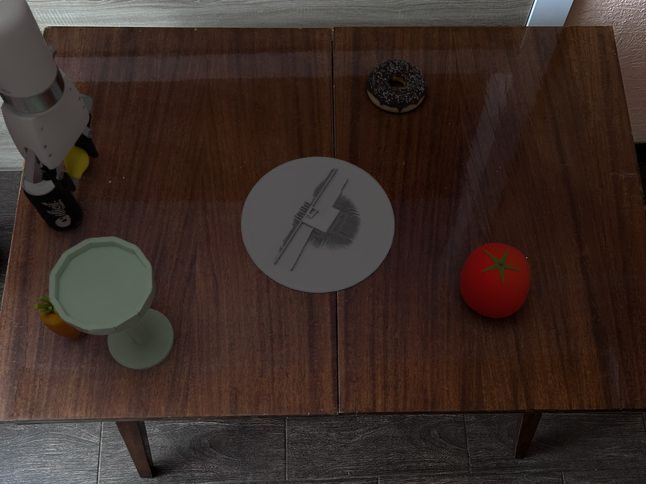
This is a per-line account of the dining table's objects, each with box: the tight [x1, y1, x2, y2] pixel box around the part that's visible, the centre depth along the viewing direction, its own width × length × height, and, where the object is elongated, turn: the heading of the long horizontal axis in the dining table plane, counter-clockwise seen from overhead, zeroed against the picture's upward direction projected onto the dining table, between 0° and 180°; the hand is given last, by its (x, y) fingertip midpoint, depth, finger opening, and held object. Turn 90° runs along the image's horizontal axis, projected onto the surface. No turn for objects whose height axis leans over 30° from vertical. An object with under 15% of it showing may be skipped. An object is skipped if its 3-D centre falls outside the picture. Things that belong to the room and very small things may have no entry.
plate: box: [240, 156, 396, 294], centre depth 126 cm, size 28×28×1 cm
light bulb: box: [63, 146, 90, 188], centre depth 99 cm, size 3×6×4 cm, turn 174°
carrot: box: [33, 295, 81, 339], centre depth 111 cm, size 5×5×15 cm
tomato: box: [459, 242, 532, 319], centre depth 117 cm, size 13×11×14 cm
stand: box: [107, 308, 175, 371], centre depth 108 cm, size 11×11×21 cm
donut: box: [364, 58, 428, 114], centre depth 135 cm, size 11×12×4 cm
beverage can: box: [21, 172, 83, 232], centre depth 120 cm, size 7×7×12 cm
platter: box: [48, 236, 157, 336], centre depth 97 cm, size 14×14×2 cm
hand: (77, 169), depth 100 cm, fingers closed on light bulb, 5 cm apart
